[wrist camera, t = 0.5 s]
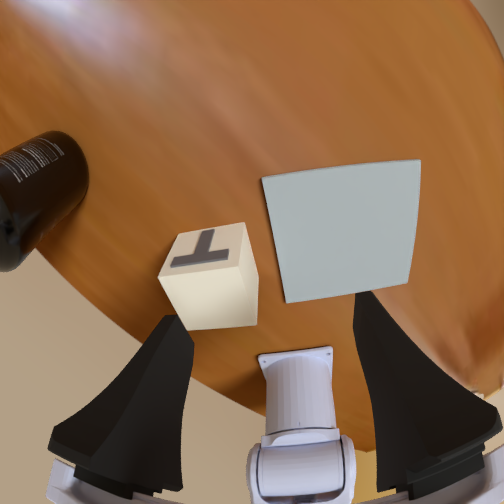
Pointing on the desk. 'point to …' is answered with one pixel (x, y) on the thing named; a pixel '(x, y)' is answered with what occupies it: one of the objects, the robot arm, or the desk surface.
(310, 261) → the slate mat
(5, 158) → the supplement bottle
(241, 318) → the letter block
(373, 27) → the desk surface
